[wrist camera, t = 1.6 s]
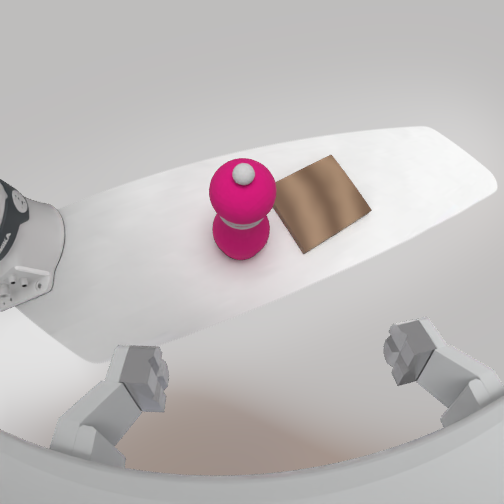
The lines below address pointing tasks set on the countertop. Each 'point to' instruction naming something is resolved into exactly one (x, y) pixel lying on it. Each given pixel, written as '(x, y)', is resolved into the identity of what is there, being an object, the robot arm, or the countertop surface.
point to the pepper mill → (242, 207)
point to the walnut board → (318, 202)
